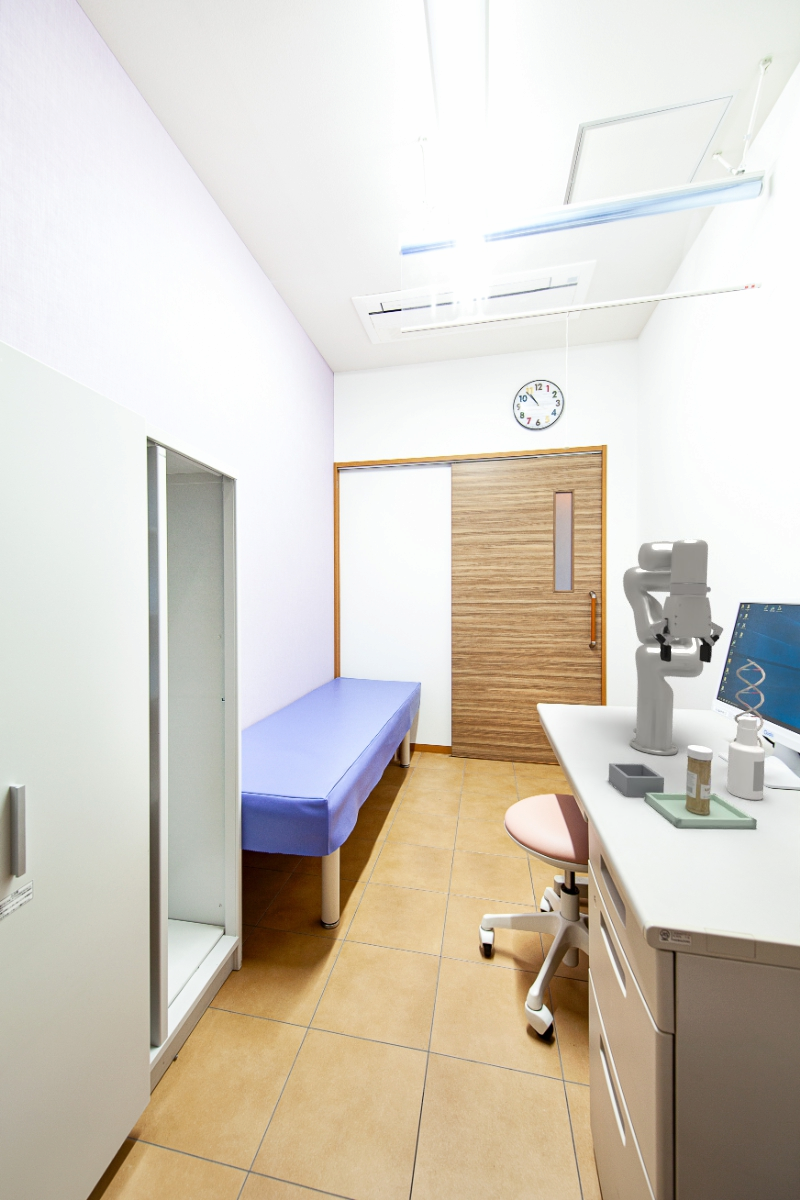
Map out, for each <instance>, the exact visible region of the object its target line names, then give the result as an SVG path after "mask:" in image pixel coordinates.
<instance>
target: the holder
mask: <svg viewBox="0 0 800 1200" xmlns="http://www.w3.org/2000/svg"><path fill="white" fill-rule="evenodd" d="M608 782H609V783H610V784H611V785H612V787H614V786H615V787H616V788H615V787H614V788H615V789H616V790H618V791H619V793H621V792H622V793H623V794H624V795H623V794H622V793H621V794H622V795H623V796H624V797H626V798H645V793H665V777H664V776H662V775H660V774H659V773H657V772H656V771H655V770H653V769H652V768H650V767H649V766H648V765H646V764H645V763H615V762H613V763H610V762H609V764H608Z"/></svg>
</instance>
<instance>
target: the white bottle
mask: <svg viewBox="0 0 800 1200" xmlns="http://www.w3.org/2000/svg"><path fill="white" fill-rule="evenodd" d="M746 716H747V715H742V716H739V717H738V721H739V723H737V725H736V737H735V738H736V741H735V742H734V741H731V742H730V743H729V744H728V758H727V761H728V762H727V784H726V790H727V791H728V793H729V794H731V795H733V796H736V797H738V798H742V799H745V800H750V801H760V800H762V799H763V798H764V781H765V754H766V750H765V749H764V748H763V747H762V748H761V747H760V745H759V743H758V742H759V740H758V738H757V736H758V732H759V731H758V729H757V728H758V726H757V724H758V723H757V721H758V720H757V718H756V717H751V716H749V717H746Z"/></svg>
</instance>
